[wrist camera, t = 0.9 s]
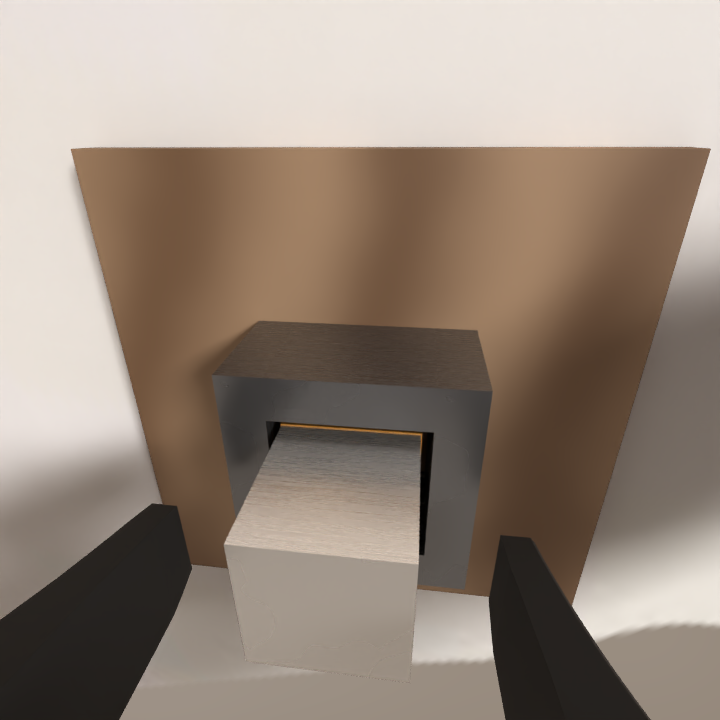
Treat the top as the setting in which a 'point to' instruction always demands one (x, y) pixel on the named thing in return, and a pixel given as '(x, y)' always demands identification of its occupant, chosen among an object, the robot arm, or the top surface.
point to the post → (330, 552)
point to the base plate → (400, 300)
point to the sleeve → (368, 412)
